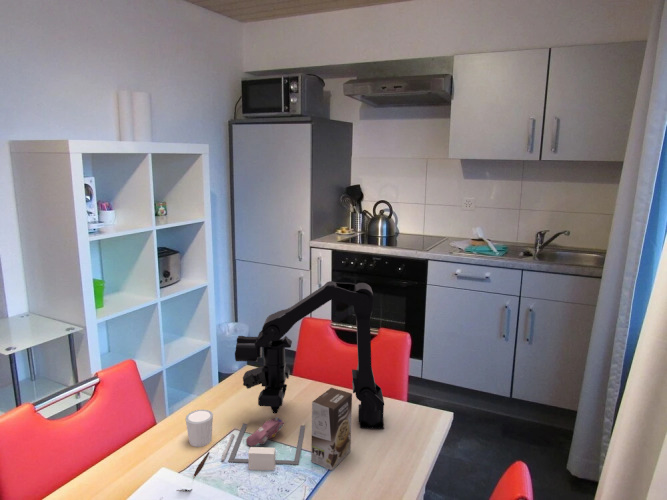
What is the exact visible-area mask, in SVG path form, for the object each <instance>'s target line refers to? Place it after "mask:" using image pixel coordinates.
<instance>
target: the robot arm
mask: <svg viewBox="0 0 667 500" xmlns="http://www.w3.org/2000/svg"><path fill="white" fill-rule="evenodd" d="M374 296H375V295H374V293H373V290H372V286H370V285H369V284H368V283H365V282H357V283H352V282H338V281H337V282H336V281H332V280H331V281H327V282H326V283H325V284H324V285H323V286H321V287H319V288H318V289H316V290H315V291H313V292H312V293H310V294H309V295H306V296H305V297H304V298H303V299H301V300H300V301H298V302H297V303H295V304H294V305H292V306H290V307H288V308H286V309H281V310H279V311H277V312H273V313H272V314H270V315H268V316H267V317H266V319H265V321H264V323H263V325H262V329H261V330H260V331H259V332H258V334H257V336H245V335H238V336H237V337H236V344H235V351H234V360H235V362H255V363H256V362H258V361H259V359H261V358H262V357H263V366H260V367H259V366H258V367H256V368H251V369H250V370H246V371H245V372H244V374H243V377H242V382H243V384H242V386H244V387H245V388H246V389H247V390H249V389H251V388H253V387H255V386H259V385H261V387H264V389H262V390H261V391H260V392H259V395H258V396H257V397H258V399H257V405H258V406H259V407H270V408H271V411H272V414H273V415H275V414H276V415H277V414H278V412H279V410H280V408H281V407H282V406H283V403H284V399H285V395H286V390H287V387H288V384H286V381H287V380H288V379H289V378H290V368H289V367H288V366H287V360H286V349H289V348H292V344H293V340H291V339H290V338H288V336H287V335H286V334H287V333H288V332H289V331H291V329H292V328H293V326H294V325H296V323H298V322H299V321H300V320H303V319H304V318H306V317H308V316H309V315H310V314H312V313H313V312H315V311H316V310H318V309H320V308H321V307H322V306H324V305H325V304H327V303H328V302H330V301H332V300H333V301H336V302H338V303H339V302H340V303H343V304H345V305H347V306H352V307H353V312H354V316H355V319H356V322H355V323H356V342H357V343H356V348H357V366H356V369H351V373H352V375H351V376H352V379H351V380H352V381H351V384H352V394H355V397H356V400H359V402H360V404H358V409H357V410H358V411H357V412H358V413H357V414H358V415H357V417H358V418H357V419H358V421H357V422H358V423H359V428H360V429H375V430H381V429H382V430H383V429H385V426H384V425H385V424H384V411H385V410H384V408H385V407H384V406H385V401H384V395H383V391H382V387H381V386H379V385H378V384H377V383H376V381H375V375H374V372H373V367H372V338H371V337H372V335H371V318H372V315H373V309H374V302H375V297H374ZM286 379H287V380H286Z"/></svg>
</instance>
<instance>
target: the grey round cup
mask: <svg viewBox="0 0 667 500" xmlns="http://www.w3.org/2000/svg"><path fill="white" fill-rule="evenodd" d="M213 419H214V413H213V412H212V411H211V410H209V409H197V410H193V411H191V412H189V413H188V414H186V416H185V424H186V430H187V437H188V443H189V444H190V446H192V447H195V448H201V447H205V446H207V445H209V444H210V443H211V442H212V436H213V435H212V434H213V421H214V420H213Z"/></svg>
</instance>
